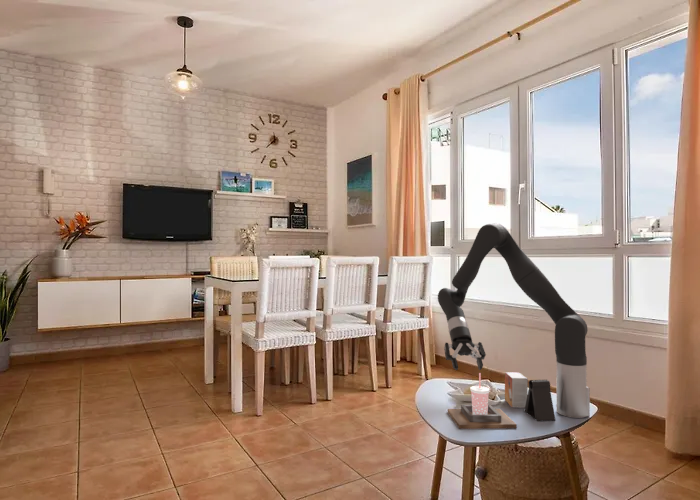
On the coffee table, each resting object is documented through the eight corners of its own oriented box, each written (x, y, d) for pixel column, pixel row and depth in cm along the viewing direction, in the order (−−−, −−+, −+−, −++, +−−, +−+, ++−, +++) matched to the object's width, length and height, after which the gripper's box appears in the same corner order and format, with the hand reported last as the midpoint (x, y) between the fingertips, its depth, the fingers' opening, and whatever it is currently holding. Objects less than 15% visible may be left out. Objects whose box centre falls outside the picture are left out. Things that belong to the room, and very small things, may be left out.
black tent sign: (555, 421, 142) (555, 384, 142) (537, 421, 141) (537, 384, 142) (541, 411, 151) (541, 376, 151) (524, 411, 150) (524, 376, 151)
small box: (504, 400, 162) (504, 371, 162) (519, 400, 162) (519, 372, 162) (511, 407, 154) (511, 377, 154) (527, 408, 154) (527, 378, 154)
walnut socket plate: (499, 412, 150) (499, 402, 150) (516, 428, 136) (516, 417, 136) (447, 412, 149) (447, 403, 149) (459, 428, 135) (459, 418, 135)
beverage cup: (471, 411, 147) (471, 369, 147) (490, 414, 144) (490, 371, 144) (468, 417, 141) (468, 374, 141) (488, 420, 139) (488, 376, 139)
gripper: (442, 325, 164) (450, 363, 153) (479, 325, 165) (491, 362, 153) (439, 337, 169) (447, 374, 158) (475, 336, 170) (486, 374, 158)
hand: (468, 368), depth 155 cm, fingers open, 8 cm apart
